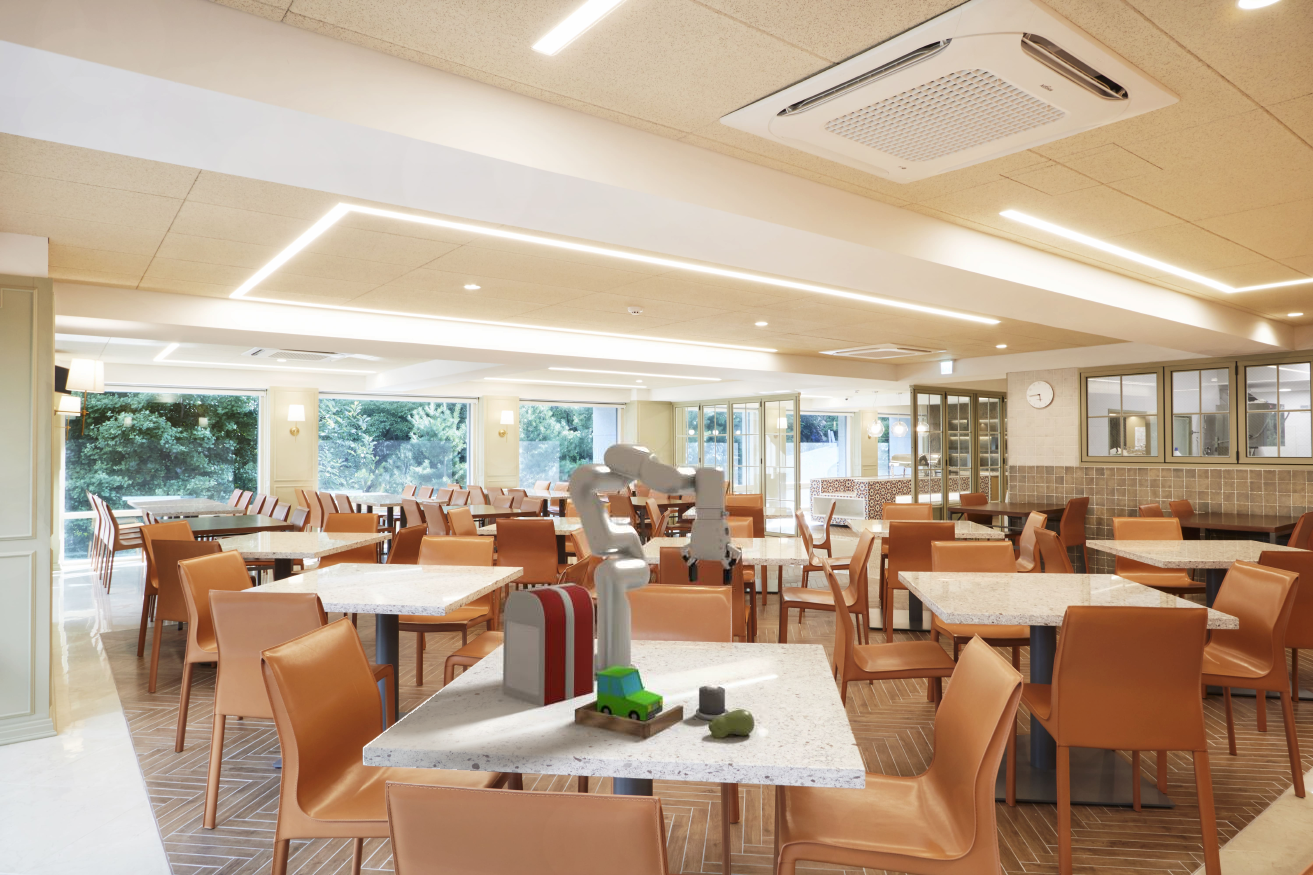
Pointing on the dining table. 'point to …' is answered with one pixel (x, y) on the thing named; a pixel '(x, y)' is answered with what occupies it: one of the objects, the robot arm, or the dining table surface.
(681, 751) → the dining table surface
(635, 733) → the bay
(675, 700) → the dining table surface
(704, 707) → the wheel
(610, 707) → the toy car
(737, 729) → the pear
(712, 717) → the shallow metal dish
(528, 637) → the red striped mailbox
